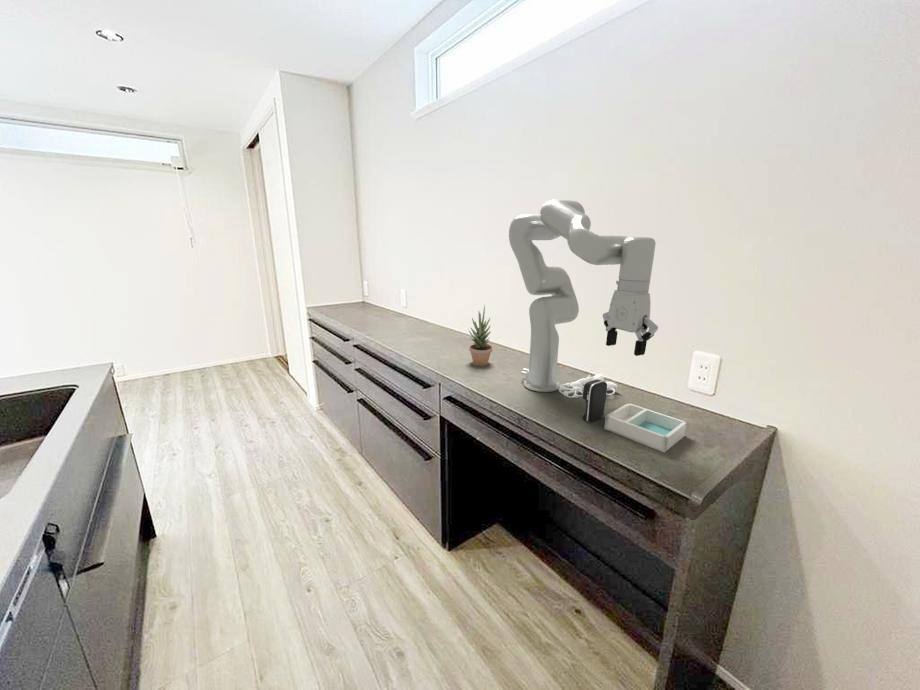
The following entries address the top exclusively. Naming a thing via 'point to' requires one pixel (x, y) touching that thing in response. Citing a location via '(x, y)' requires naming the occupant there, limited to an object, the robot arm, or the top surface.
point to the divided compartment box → (646, 426)
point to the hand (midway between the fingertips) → (624, 349)
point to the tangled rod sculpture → (579, 386)
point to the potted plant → (480, 342)
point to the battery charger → (594, 399)
